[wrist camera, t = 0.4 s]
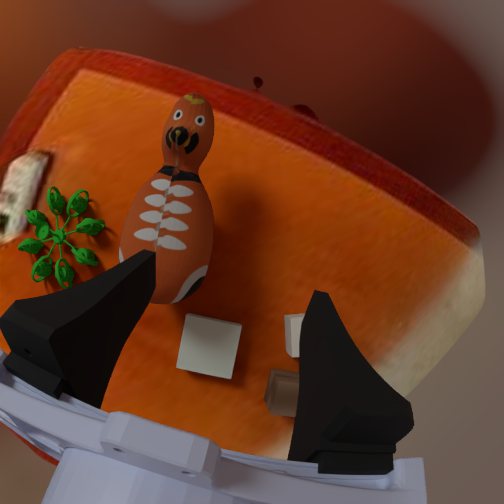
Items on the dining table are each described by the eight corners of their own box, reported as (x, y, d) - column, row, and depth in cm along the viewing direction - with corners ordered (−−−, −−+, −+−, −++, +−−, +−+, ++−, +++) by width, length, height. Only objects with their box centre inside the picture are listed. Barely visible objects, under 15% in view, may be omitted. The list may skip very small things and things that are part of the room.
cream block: (321, 347, 41) (330, 352, 37) (285, 351, 41) (292, 357, 37) (319, 311, 42) (329, 314, 38) (284, 315, 41) (290, 318, 37)
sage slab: (230, 372, 40) (231, 379, 37) (179, 362, 40) (176, 367, 37) (240, 323, 41) (241, 326, 38) (188, 312, 40) (186, 314, 37)
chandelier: (59, 173, 41) (38, 157, 34) (129, 219, 41) (112, 207, 34) (14, 255, 39) (-12, 250, 32) (78, 310, 39) (55, 313, 32)
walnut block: (295, 402, 40) (305, 418, 34) (264, 398, 40) (270, 414, 34) (302, 372, 41) (314, 385, 35) (271, 368, 40) (278, 380, 34)
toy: (235, 144, 43) (242, 83, 28) (205, 307, 40) (195, 318, 26) (169, 135, 43) (149, 73, 28) (133, 292, 40) (88, 294, 25)
